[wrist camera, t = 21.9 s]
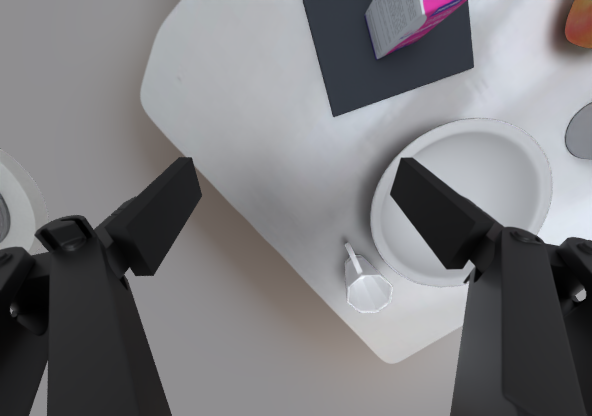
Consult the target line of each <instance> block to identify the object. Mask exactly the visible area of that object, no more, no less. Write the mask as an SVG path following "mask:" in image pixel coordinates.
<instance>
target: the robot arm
mask: <svg viewBox="0 0 592 416" xmlns="http://www.w3.org/2000/svg"><path fill="white" fill-rule="evenodd" d="M390 196H391V197H392V198H393V200H394V201H395V202H396V204H397V205H398V206H399V207H400V209H401V210H402V211H403V213H404V214H405V215H406V217H407V218H408V219H409V221H410V222H411V223H412V225H413V226H414V227H415V229H416V230H417V231H418V233H419V234H420V235H421V237H422V238H423V239H424V241H425V242H426V243H427V245H428V246H429V247H430V249H431V250H432V251H433V253H434V254H435V255H436V257H437V258H438V259H439V260H440V262H441V263H442V264H443V266H444V267H445V268H446V270H450V269H463V268H464V266H465V265H466V264H467V262H468V261H469V260H470V261H471V262H472V263H473V264H474V266H475V267H474V268H473V269H472V271H471V272H470V273H469V275H468V276H467V278H466V279H465V280H464V282H463V283H464V284H466V283H467V282H468V281H469V288H468V295H467V302H466V309H465V316H464V323H463V330H462V337H461V344H460V351H459V358H458V365H457V372H456V378H455V386H454V392H453V399H452V406H451V413H450V416H592V241H591V240H585V239H582V238H576V237H570V238H567V239H566V240H565V241H564V242H563V243H562V244H561V245H560V246H556V245H551V244H545V243H544V242H543V240H542V239H540V238H539V237H538V236H536V235H534V234H533V233H531V232H529V231H526V230H524V229H521V228H516V227H508V226H507V227H504V226H503V225H502V224H500V223H499V222H498V221H496V220H495V219H494V218H493V217H491V216H490V215H489V214H487V213H486V212H485V211H483V210H482V209H481V208H480V207H478V206H476V204H474V203H473V202H472V201H471V200H469V199H468V198H466V197H464V196H462V195H460V194H458V193H457V192H456V191H455V190H453V189H452V188H451V187H449V186H448V185H447V184H446V183H444V182H443V181H442V180H441V179H439V178H438V177H437V176H436V175H434V174H433V173H432V172H431V171H429V170H428V169H427V168H425V167H424V166H423V165H422V164H420V163H419V162H418V161H417V160H415V159H414V158H413V157H401V159H400V162H399V166H398V169H397V172H396V175H395V179H394V182H393V185H392V188H391V192H390ZM201 197H202V193H201V190H200V186H199V182H198V179H197V175H196V171H195V168H194V164H193V160H192V157H179V158H178V159H177V160H176V161H175V162H174V163H173V164H171V165H170V166H169V167H168V168H167V169H166V170H165V171H164V172H163V173H162V174H161V175H160V176H159V177H157V178H156V180H154V181H153V182H152V183H151V184H150V185H149V186H148V187H147V188H146V189H145V190H144V191H142V192H141V193H140V194H139V195H138V196H137V197H134V198H132V199H130V200H128V201H126V202H124V203H123V204H122V205H121V206H120V207H119V208H118V209H117V210H116V211H114V212H113V213H112V214H111V216H109V217H108V218H106V219H105V220H104V221H103V222H102V223H101V224H100V225H99V226H98V227H96V228H95V229H94V230H93V228H92V227H91V225H90V224H89V223H88V221H87V220H86V218H85V217H84V216H80V215H73V216H66V217H62V218H59V219H56V220H54V221H51V222H49V223H47V224H45V225H43V226H42V227H41V228H39V229H38V230H37V231H36V233H35V234H34V236H35V237H36V238H37V239H38V240H39V241H40V242H41V243H42V245H43V246H44V247H45V248H46V249H47V250H48V251H49V252H46V253H41V254H36V255H32V256H31V255H30V254H29V253H28V252H27V251H26V250H25V249H24V248H23V247H17V246H15V247H9V248H4V249H1V250H0V416H29V414H30V411H31V408H32V405H33V402H34V399H35V396H36V393H37V390H38V387H39V384H40V381H41V378H42V375H43V372H44V370H45V366H46V363H47V361H48V395H47V396H48V397H47V416H172V414H171V411H170V408H169V405H168V402H167V399H166V396H165V393H164V390H163V387H162V384H161V381H160V378H159V375H158V372H157V368H156V365H155V362H154V359H153V356H152V353H151V350H150V347H149V344H148V341H147V338H146V335H145V332H144V329H143V325H142V323H141V319H140V316H139V313H138V310H137V307H136V304H135V301H134V298H133V295H132V292H131V289H130V286H129V283H128V280H127V278H126V277H125V275H124V274H125V272H126V271H127V270H128V268H129V267H130V268H131V270H132V271H133V273H134V274H135V276H154V274H155V272H156V271H157V269H158V267H159V266H160V264H161V262H162V261H163V259H164V257H165V256H166V254H167V253H168V251H169V249H170V248H171V246H172V244H173V243H174V241H175V239H176V238H177V236H178V235H179V233H180V231H181V230H182V228H183V226H184V225H185V223H186V221H187V220H188V218H189V217H190V215H191V213H192V212H193V210H194V208H195V207H196V205H197V203H198V201H199V200H200V198H201ZM9 229H10V214H9V210H8V207H7V204H6V202H5V200H4V198H3V197H2V195H1V194H0V243H1V242H2V241H3V240H4V239H5V238H6V236H7V235H8V232H9ZM584 288H585V291H586V299H584V300H583V301H578V299H577V298H576V296H575V295H576V294H577V293H579V292H580V291H581V290H583V289H584ZM10 308H11V309H12V310H13V312H12V314H11V312H10Z"/></svg>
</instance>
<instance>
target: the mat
mask: <svg viewBox="0 0 592 416" xmlns="http://www.w3.org/2000/svg"><path fill="white" fill-rule="evenodd" d="M372 1H373V0H303V3H304V7H305V10H306V14H307V18H308V22H309V26H310V30H311V33H312V37H313V41H314V45H315V49H316V52H317V56H318V60H319V64H320V68H321V71H322V75H323V79H324V83H325V87H326V90H327V94H328V98H329V102H330V106H331V109H332V113H333V117H335V116H338V115H341V114H344V113H346V112H349V111H352V110H355V109H358V108H361V107H363V106H366V105H369V104H372V103H375V102H378V101H381V100H383V99H386V98H389V97H392V96H395V95H398V94H400V93H403V92H406V91H409V90H412V89H415V88H417V87H420V86H423V85H426V84H429V83H432V82H434V81H437V80H440V79H443V78H446V77H449V76H452V75H454V74H457V73H460V72H463V71H466V70H469V69H471V68H473V67H474V62H473V51H472V40H471V29H470V18H469V7H468V0H467V1H466V2H464V3H463V4H462V5H461V6H459V7H458V8H457V9H456V10H455V11H453V12H452V13H451V14H450V15H448V16H447V17H446V18H445V19H444V20H442V21H441V22H440V23H439V24H437V25H436V26H435V27H434V28H433V29H431V30H430V31H429V32H428V33H426V34H425V35H424V36H423V37H421V38H420V39H419V40H418V41H417V42H415V43H413V44H410V45H408V46H405V47H403V48H401V49H399V50H397V51H394V52H392V53H390V54H388V55H386V56H384V57H382V58H380V59H378V60H376V59H375V55H374V52H373V48H372V44H371V40H370V36H369V32H368V28H367V25H366V21H365V17H364V14H365V13H366V11H367V10H368V8H369V6H370V4H371V2H372Z"/></svg>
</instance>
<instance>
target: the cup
mask: <svg viewBox="0 0 592 416" xmlns="http://www.w3.org/2000/svg"><path fill="white" fill-rule="evenodd" d="M345 246H346V249H347V251H348V253H349V256H350V257H349V258H348V259H347V260H346V261H345V285H346V295H347V303H348V304H350V305H351V306H352V307H353V308H354V309H356V310H357V311H358V312H359V313H373V312H379V311H380V310H381V309H382V308H384V307H385V306H386V305H388V304H389V303H390V302H391V299H392V289H393V286H392V285H391V284H390V283H389V281H388V280H387V279H386V278H384V276H383V275H382V274H381V273H380V272H379V271H378V270H377V269H376V268H375V267H374V266H372V265H371V264H370V263H369V262H368V261H367V260H366V259H365V258H364V257H363V256H361V255H355V254H354V252H353V249H352V247H351V245H350V243H346V244H345Z"/></svg>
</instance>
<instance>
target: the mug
mask: <svg viewBox="0 0 592 416" xmlns="http://www.w3.org/2000/svg"><path fill="white" fill-rule="evenodd" d="M566 145H567V147H568V149H569V151H570V152H571V153H572V154H573V155H575V156H577V157H580V158H584V159H592V103H590V104H589V105H587V106H586V107H584V108H583V109H582V110H580V111H579V112H578V113H577V114H576V116H575V117H574V118H573V120H572V121H571V123H570V125H569V127H568V129H567V133H566Z"/></svg>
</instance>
